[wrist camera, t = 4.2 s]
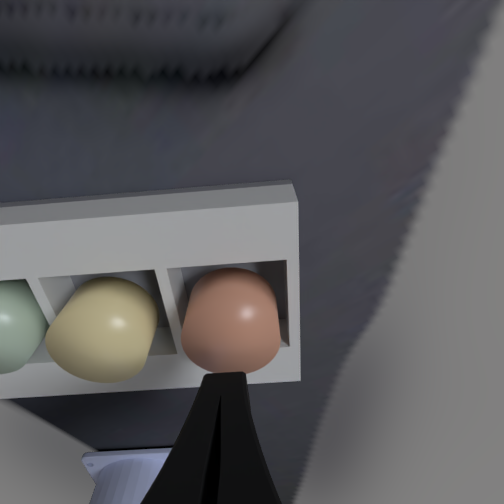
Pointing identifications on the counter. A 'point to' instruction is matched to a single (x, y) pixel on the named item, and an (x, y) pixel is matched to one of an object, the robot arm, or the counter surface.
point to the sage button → (19, 324)
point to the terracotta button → (231, 322)
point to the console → (153, 269)
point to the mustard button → (104, 330)
